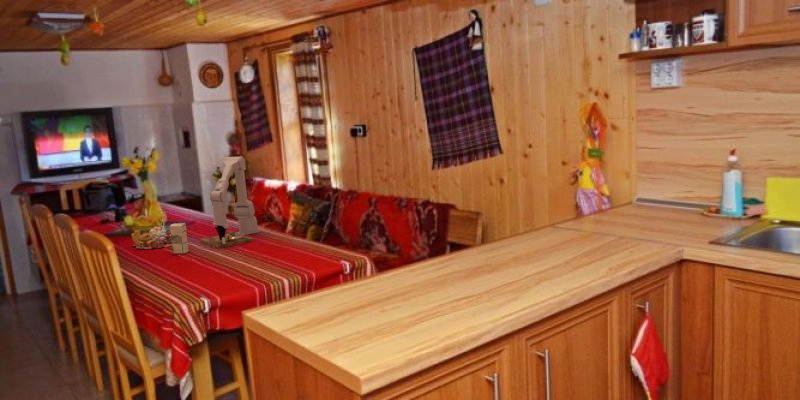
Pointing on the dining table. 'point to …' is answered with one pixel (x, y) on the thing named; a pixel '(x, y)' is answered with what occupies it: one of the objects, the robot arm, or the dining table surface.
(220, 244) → the base board
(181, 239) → the syrup box
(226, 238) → the lever handle
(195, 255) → the dining table surface
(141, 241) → the candy landscape model
